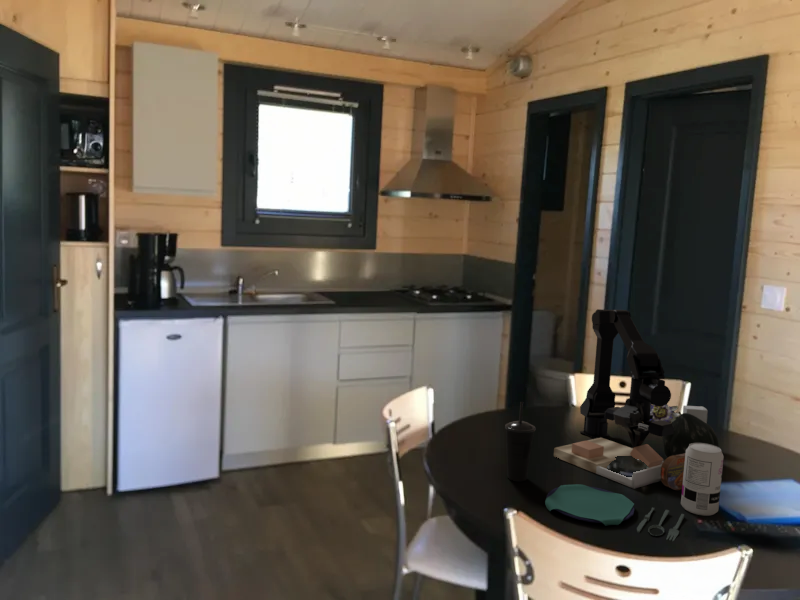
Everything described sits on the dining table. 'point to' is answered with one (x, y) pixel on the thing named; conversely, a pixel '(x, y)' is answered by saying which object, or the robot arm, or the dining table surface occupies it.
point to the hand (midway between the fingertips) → (635, 451)
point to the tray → (633, 476)
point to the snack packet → (673, 471)
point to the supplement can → (702, 479)
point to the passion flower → (664, 413)
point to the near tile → (587, 449)
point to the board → (590, 464)
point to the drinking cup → (518, 447)
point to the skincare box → (696, 412)
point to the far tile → (646, 455)
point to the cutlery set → (599, 507)
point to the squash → (688, 435)
